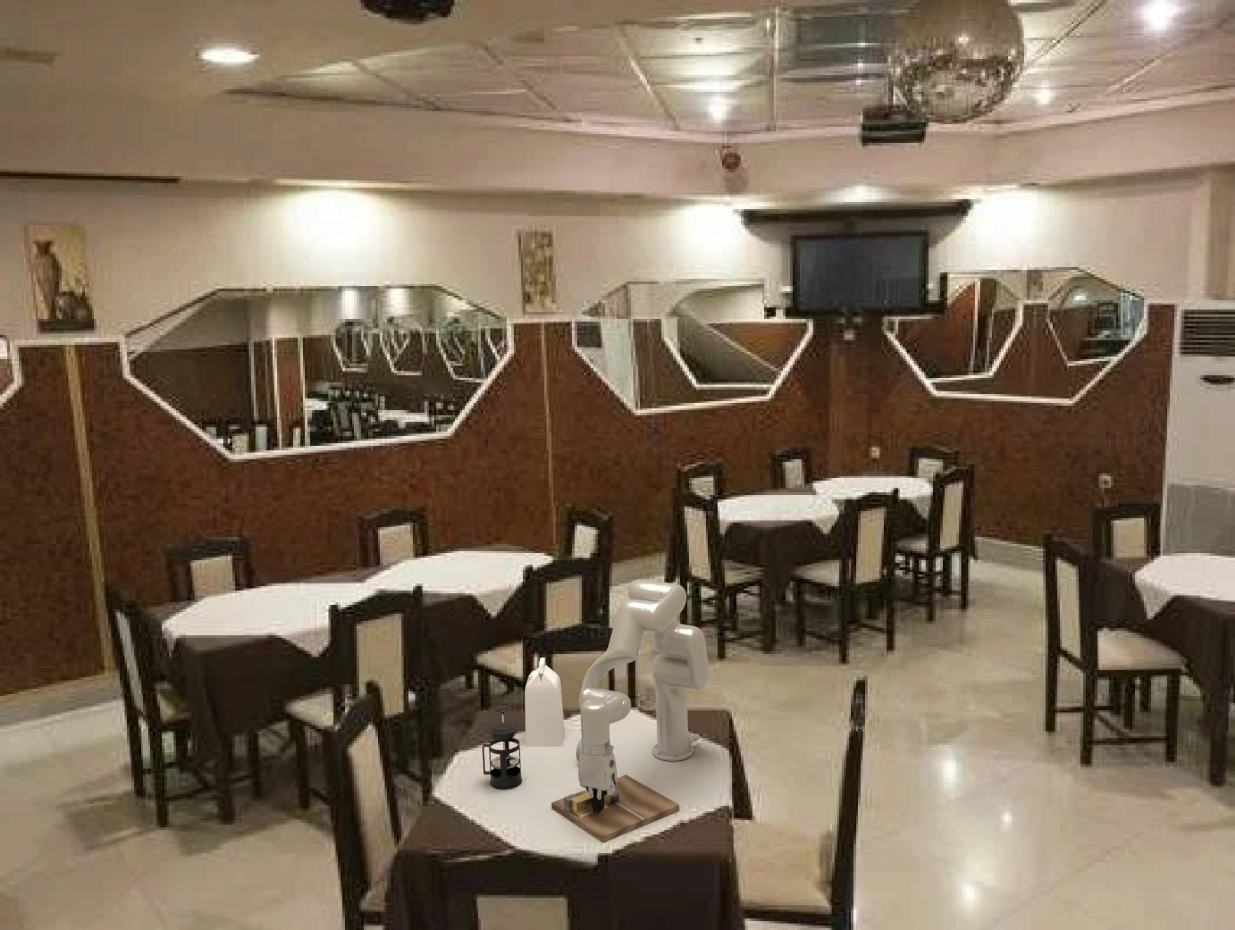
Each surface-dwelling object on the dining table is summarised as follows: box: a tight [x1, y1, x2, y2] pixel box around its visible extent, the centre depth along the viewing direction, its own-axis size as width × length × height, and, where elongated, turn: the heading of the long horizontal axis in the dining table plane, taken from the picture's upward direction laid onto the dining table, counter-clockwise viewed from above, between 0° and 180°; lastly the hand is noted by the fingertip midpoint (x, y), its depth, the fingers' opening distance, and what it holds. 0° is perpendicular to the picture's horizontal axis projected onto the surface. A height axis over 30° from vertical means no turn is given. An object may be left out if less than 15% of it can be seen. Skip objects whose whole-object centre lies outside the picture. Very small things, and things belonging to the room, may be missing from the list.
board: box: [550, 774, 680, 843], centre depth 280 cm, size 26×24×5 cm
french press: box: [481, 705, 523, 791], centre depth 296 cm, size 12×9×23 cm
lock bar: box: [571, 785, 619, 815], centre depth 279 cm, size 14×4×4 cm, turn 125°
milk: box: [524, 657, 566, 748], centre depth 326 cm, size 12×12×26 cm
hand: (598, 810), depth 275 cm, fingers closed
